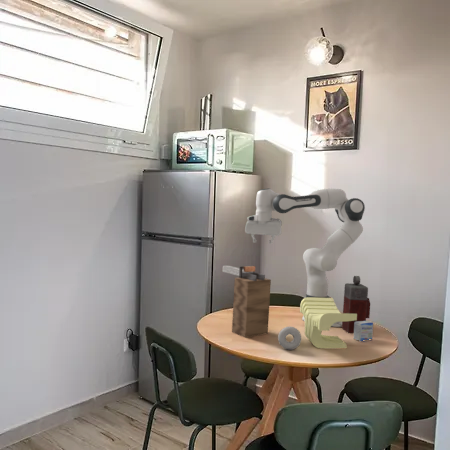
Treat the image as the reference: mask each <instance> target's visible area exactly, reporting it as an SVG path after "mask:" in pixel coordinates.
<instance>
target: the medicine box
mask: <svg viewBox="0 0 450 450" xmlns="http://www.w3.org/2000/svg"><path fill="white" fill-rule="evenodd" d="M373 330H374V322H373V321H370V320H366V321H357V322H354V333H353V340H354V339H356V340H355V341H357V340H359V341H363V340H369V339H372V340H373V333H374V331H373ZM359 341H358V342H359ZM363 342H364V341H363Z"/></svg>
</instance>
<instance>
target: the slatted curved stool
mask: <svg viewBox="0 0 450 450" xmlns="http://www.w3.org/2000/svg"><path fill="white" fill-rule="evenodd" d="M299 305H300V306H299V313H300V314H302V316H303V315H304V318H305V321H304V335H305V338H307V340H309V342H310V343H311V344H312V345H313V346H314V347H315V348H318V349H336V348H347V346H348V345H347V343H346V342H345V341H344V340H343V339H342V338H340V337H339V336H337V335H326V334H322V332H323V331H325V332H326V331H327V332H329V331H330V330H331V327H332V325H333V324H334V323H336V322H343V321H354V320H357V314H348V313H343V312H342V313H341V312H340V309H338V306H337V305H336V302H335V300H334V298H333V297H331V298H315V297H307V298H306V297H304V298H303V299H302V300H301V302H300V304H299Z"/></svg>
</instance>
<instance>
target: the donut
mask: <svg viewBox="0 0 450 450" xmlns="http://www.w3.org/2000/svg"><path fill="white" fill-rule="evenodd" d="M289 335H291V336H292V337H293V339H292V340H291V341H288V340H287V336H289ZM277 339H278V343H279V346H281V347H282V348H283V349H284V350H287V351H288V350H289V351H290V350H294V349H297V348H298V347H299V346H300V345H301V342H302V334H301V332H300V331H299V329H298V328H296V327H295V326H286V327H283V328H282V329H281V330H280V331H279V333H278V335H277Z"/></svg>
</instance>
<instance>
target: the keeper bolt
mask: <svg viewBox="0 0 450 450" xmlns="http://www.w3.org/2000/svg"><path fill="white" fill-rule="evenodd" d="M239 268H240V267H236V266H232V265H222V271H221V272H222V273H225V274H226V273H227V274H231V275H233V276H238V277H239ZM253 271H255V272H256V266H255V265H245V267H244V269H242V272H244V273H248V274H252V275H253Z"/></svg>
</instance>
